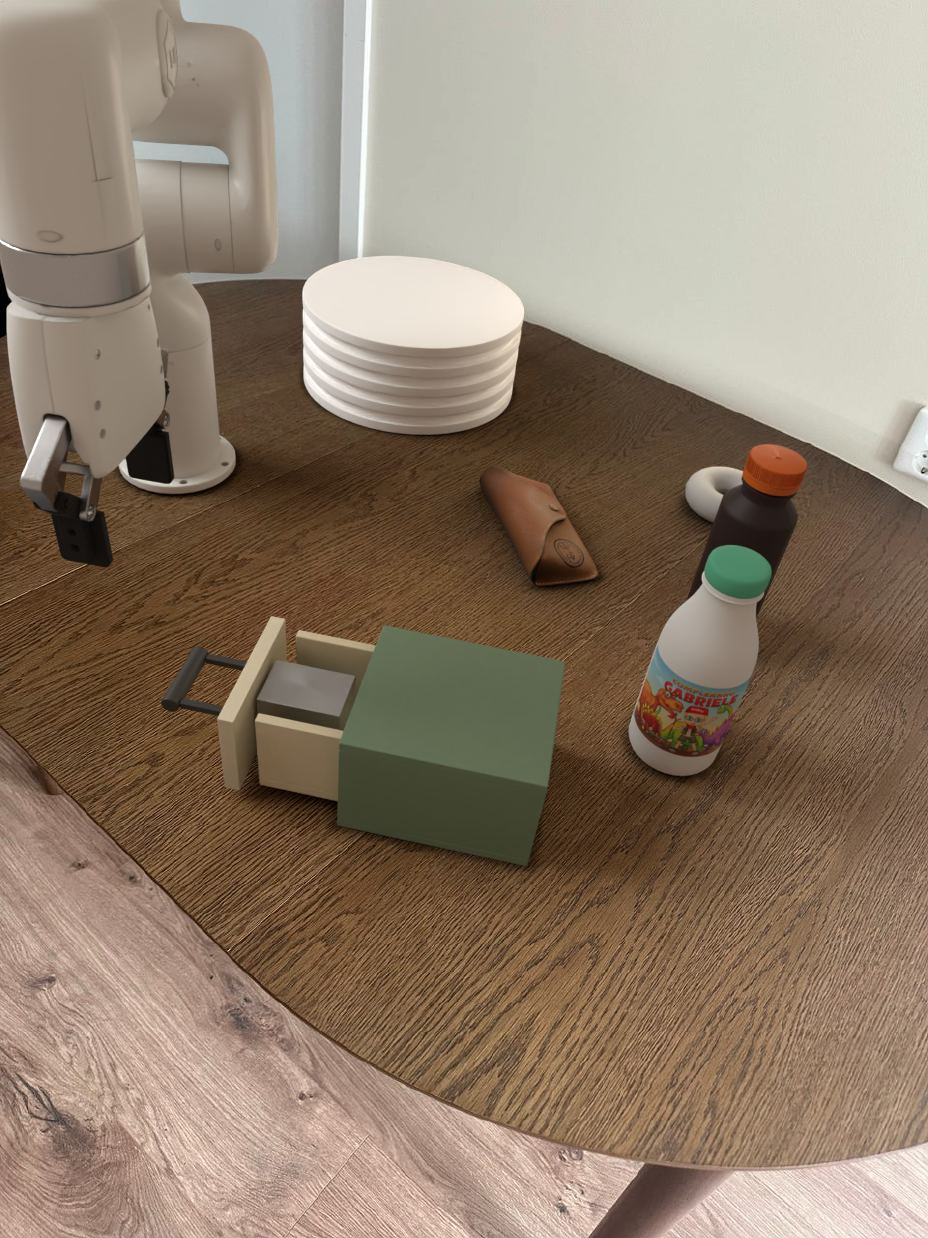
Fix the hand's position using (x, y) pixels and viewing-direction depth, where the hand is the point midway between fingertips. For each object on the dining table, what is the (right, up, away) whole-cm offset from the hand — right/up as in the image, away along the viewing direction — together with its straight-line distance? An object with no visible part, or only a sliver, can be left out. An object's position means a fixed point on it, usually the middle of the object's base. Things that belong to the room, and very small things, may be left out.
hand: (121, 517), depth 61 cm
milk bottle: (+41, -18, +17) cm, 48 cm away
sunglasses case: (+31, +2, +39) cm, 50 cm away
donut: (+54, +6, +46) cm, 71 cm away
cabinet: (+22, -20, +12) cm, 32 cm away
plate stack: (+16, +25, +62) cm, 68 cm away
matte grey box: (+11, -16, +11) cm, 22 cm away
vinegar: (+48, -8, +29) cm, 56 cm away
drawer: (+10, -17, +12) cm, 23 cm away
